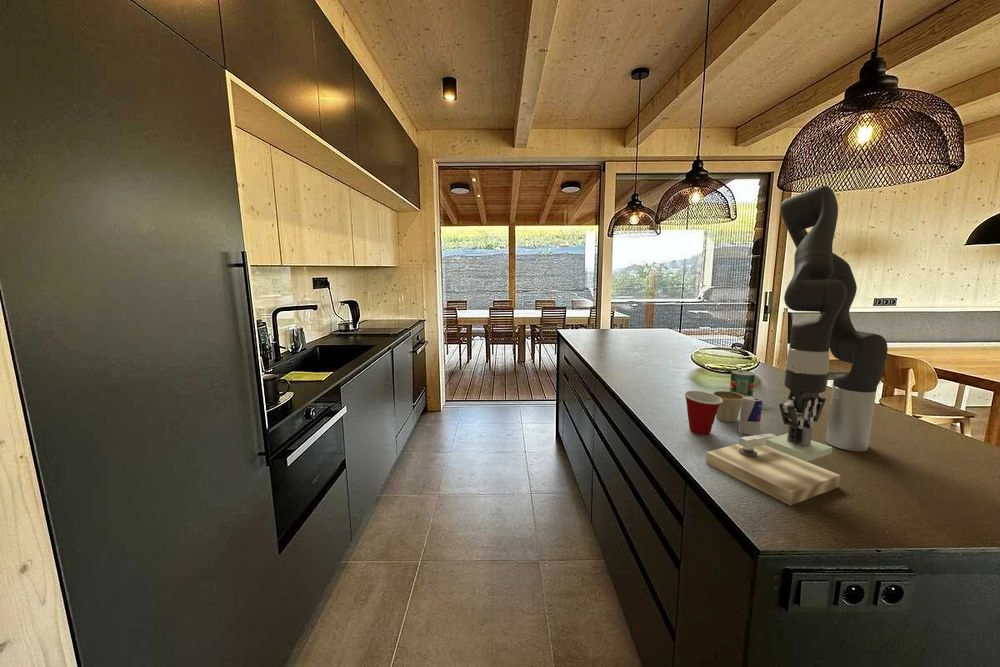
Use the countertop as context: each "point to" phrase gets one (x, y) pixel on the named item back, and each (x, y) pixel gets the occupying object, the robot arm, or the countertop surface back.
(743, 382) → the canned tomato
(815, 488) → the latch base
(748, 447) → the grey long bar
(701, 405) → the plastic cup
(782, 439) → the snap lid
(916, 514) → the countertop surface
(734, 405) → the flower pot
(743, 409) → the energy drink
